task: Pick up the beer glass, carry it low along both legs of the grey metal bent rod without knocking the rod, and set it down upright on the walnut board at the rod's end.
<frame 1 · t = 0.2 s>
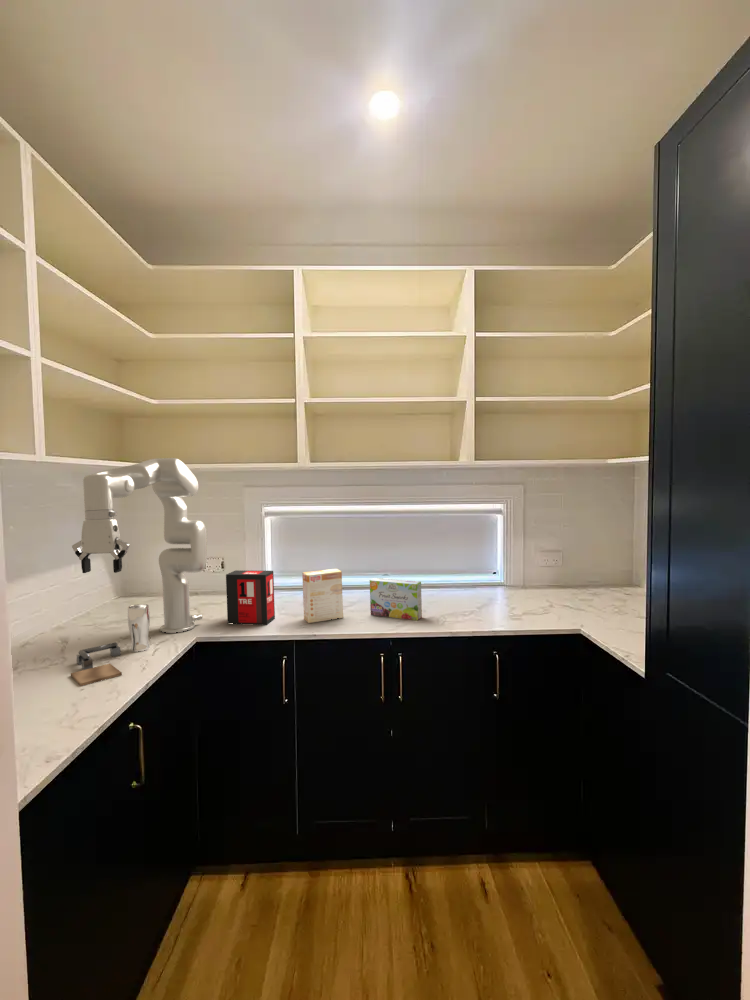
hand: (102, 572, 155), 31 cm above the worktop, tool pointing down, fingers open, 9 cm apart
coffeecake box: (323, 619, 210), on the worktop
beer glass: (140, 649, 177), on the worktop
snack box: (395, 617, 211), on the worktop
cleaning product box: (251, 621, 208), on the worktop
grey metal bent rod: (82, 663, 165), on the worktop
walnut board: (96, 675, 154), on the worktop
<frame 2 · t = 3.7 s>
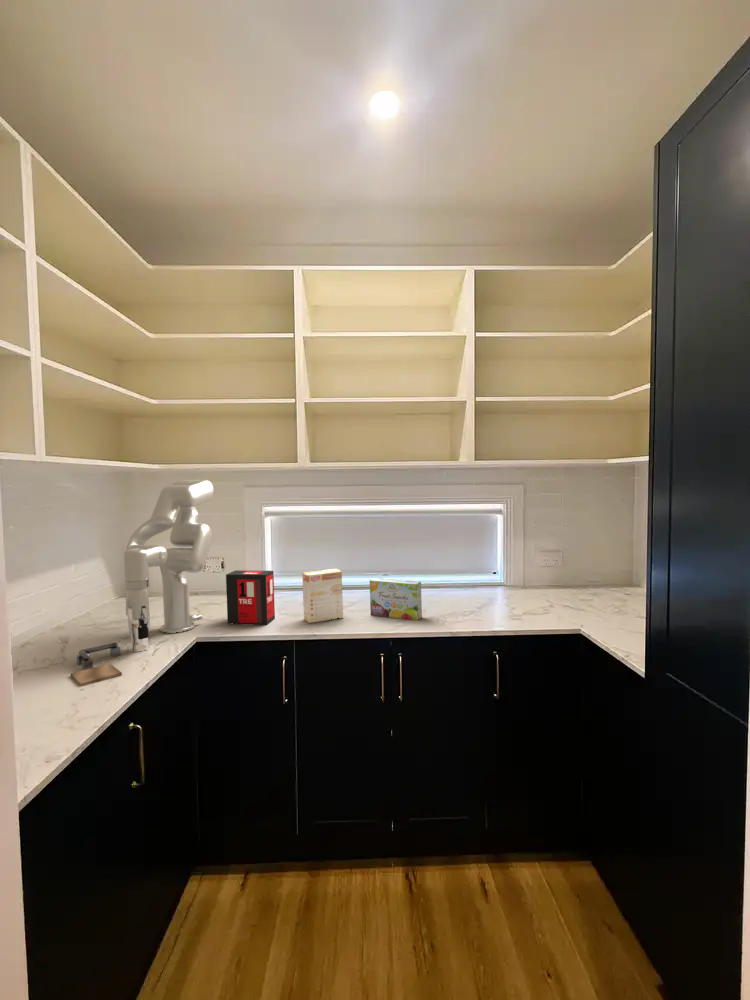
hand: (139, 635, 177), 5 cm above the worktop, tool pointing down, fingers closed on beer glass, 6 cm apart
beer glass: (140, 649, 177), on the worktop, touching gripper
everything else where it was.
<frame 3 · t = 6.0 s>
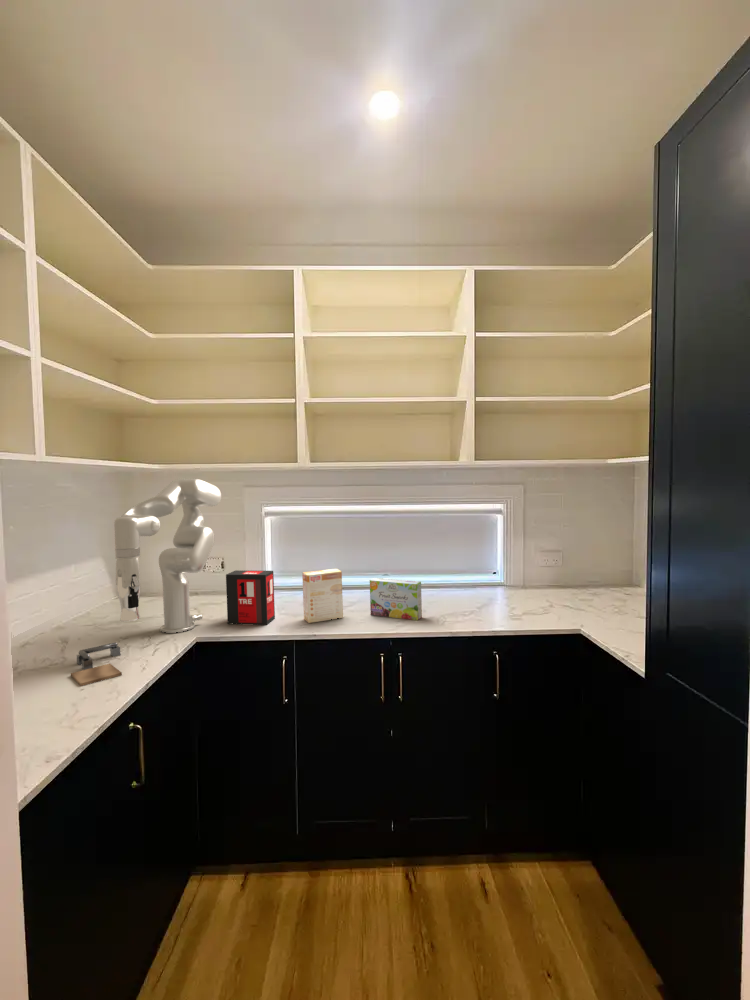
hand: (129, 605, 174), 16 cm above the worktop, tool pointing down, fingers closed on beer glass, 6 cm apart
beer glass: (130, 619, 174), point 11 cm above the worktop, touching gripper
everything else where it was.
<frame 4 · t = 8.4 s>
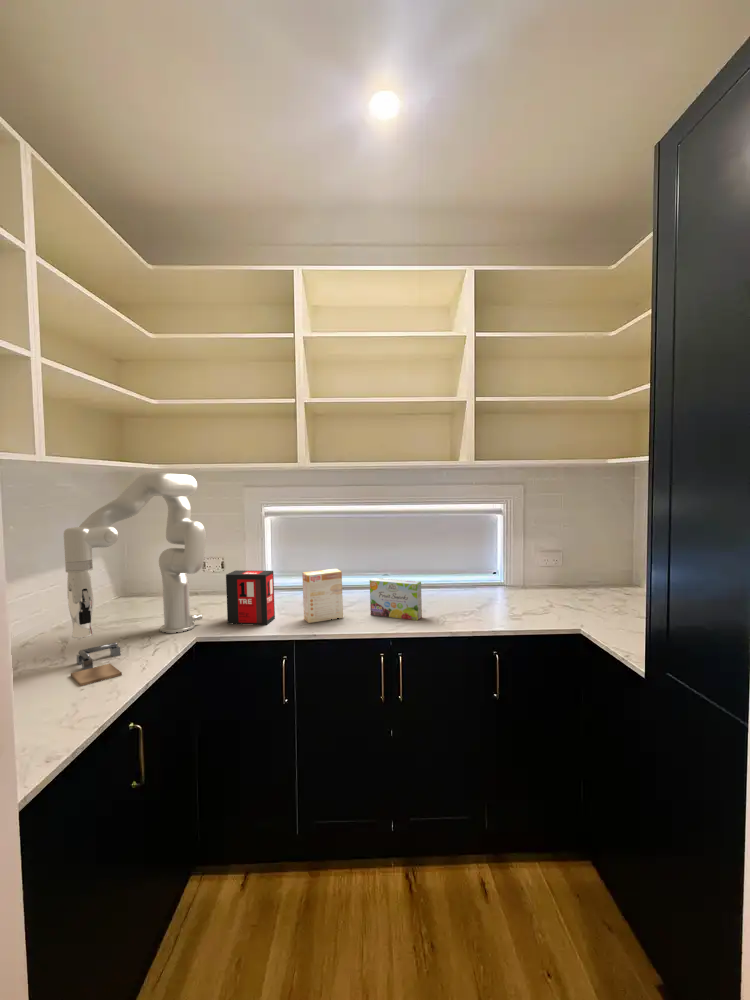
hand: (82, 621, 164), 14 cm above the worktop, tool pointing down, fingers closed on beer glass, 6 cm apart
beer glass: (82, 635, 165), point 9 cm above the worktop, touching gripper
everything else where it was.
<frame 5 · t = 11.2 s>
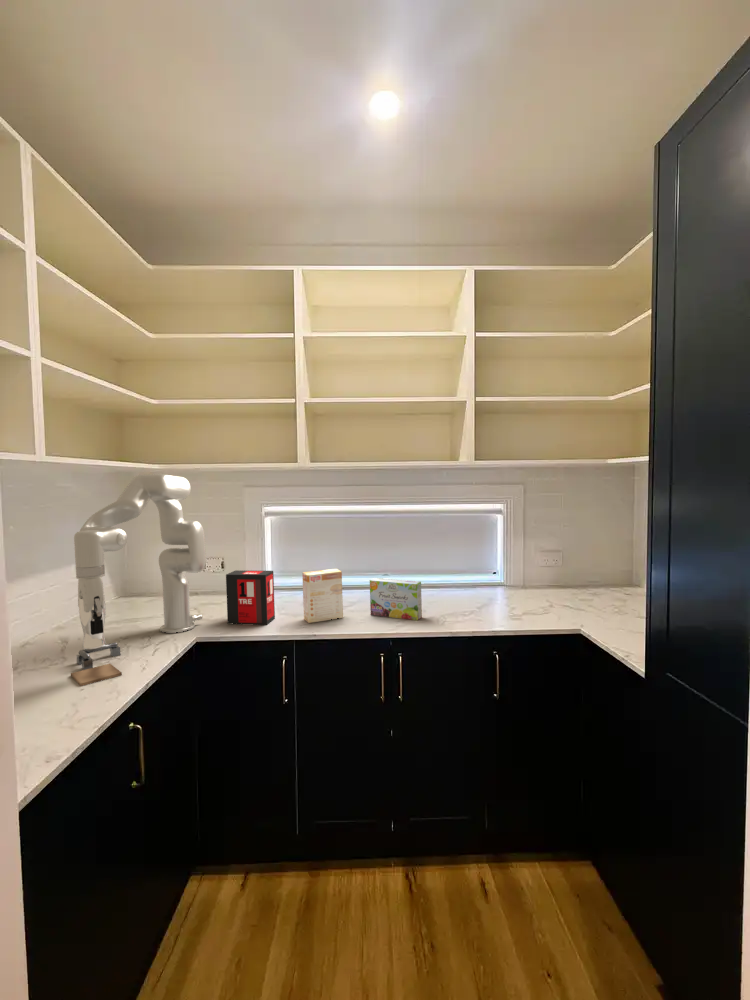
hand: (93, 630, 154), 14 cm above the worktop, tool pointing down, fingers closed on beer glass, 6 cm apart
beer glass: (94, 646, 154), point 9 cm above the worktop, touching gripper
everything else where it was.
when the fingers open (7 cm above the worktop, at t = 13.4 s): beer glass drops 1 cm, resting on walnut board.
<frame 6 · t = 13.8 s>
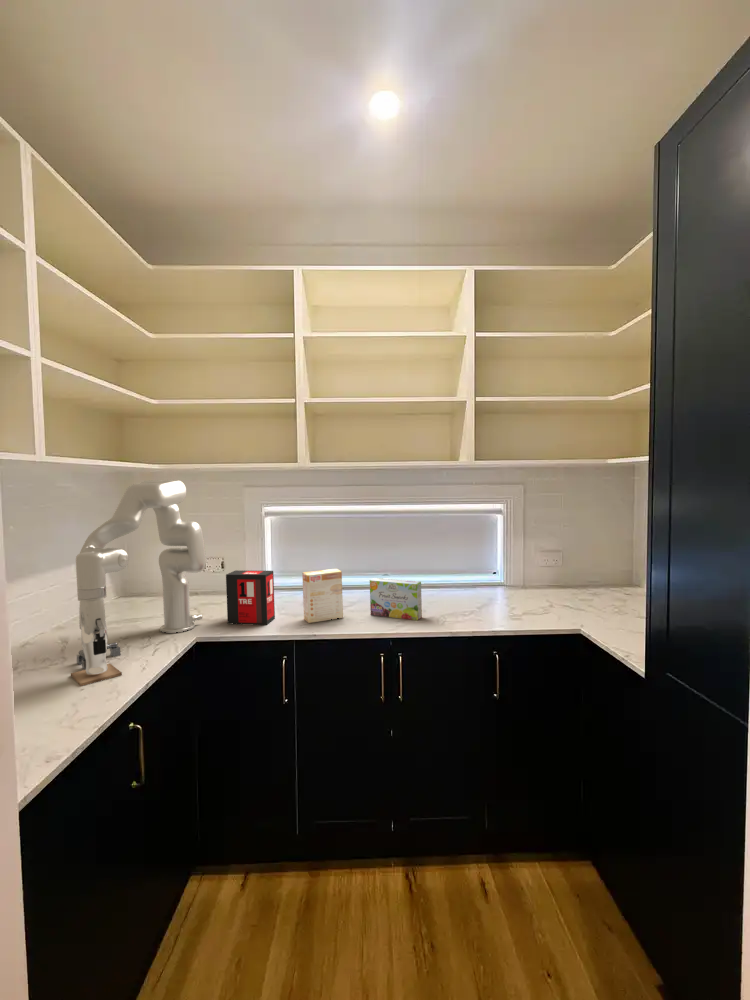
hand: (94, 650, 153), 8 cm above the worktop, tool pointing down, fingers open, 9 cm apart
beer glass: (96, 672, 154), point 1 cm above the worktop, touching walnut board
everything else where it was.
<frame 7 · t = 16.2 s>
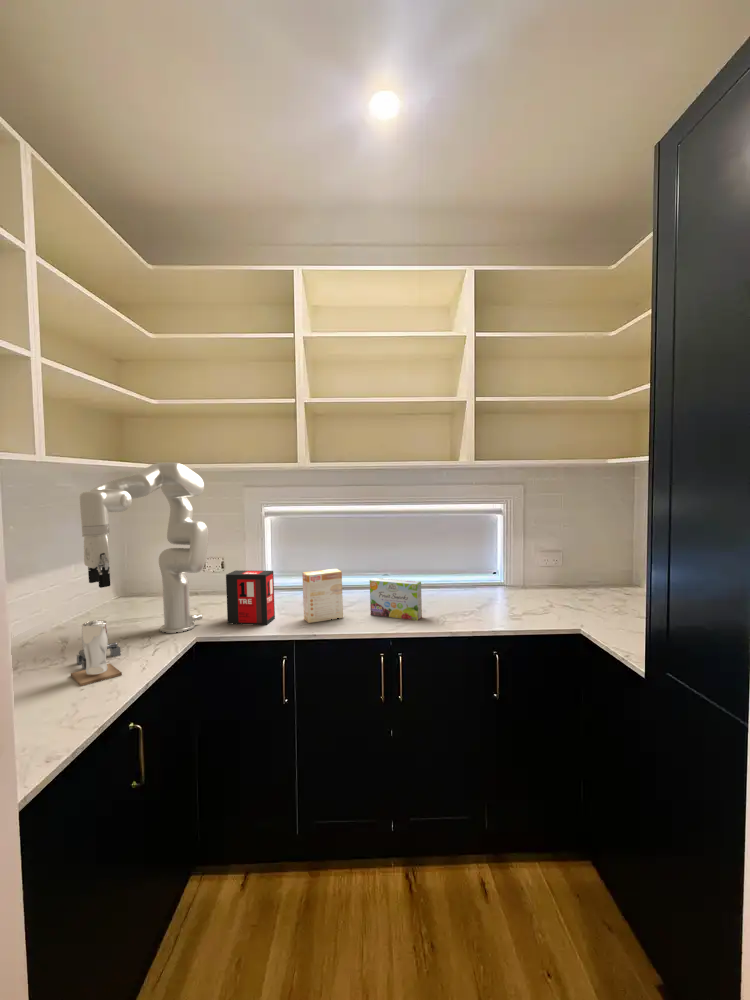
hand: (99, 584, 162), 26 cm above the worktop, tool pointing down, fingers open, 9 cm apart
nothing on the worktop moved.
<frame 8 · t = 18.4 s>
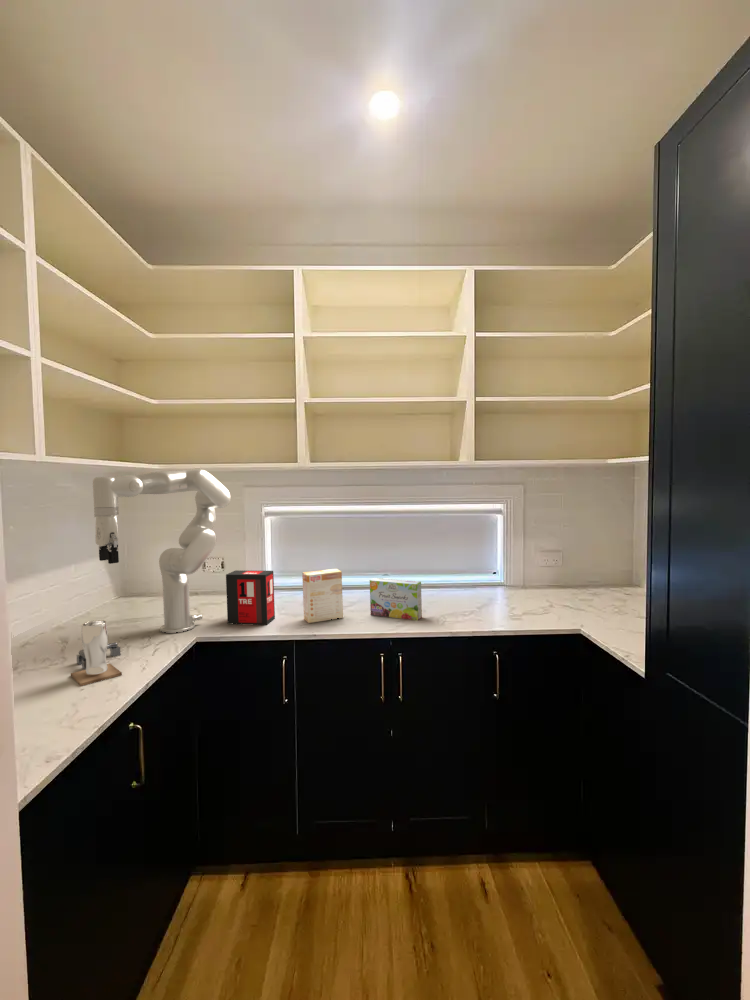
hand: (108, 561, 178), 30 cm above the worktop, tool pointing down, fingers open, 9 cm apart
nothing on the worktop moved.
at the end: beer glass 0.5 cm off-centre on the walnut board, point 0.6 cm above the walnut board's base; beer glass tilted 0°; grey metal bent rod moved 0.0 cm from its start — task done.
